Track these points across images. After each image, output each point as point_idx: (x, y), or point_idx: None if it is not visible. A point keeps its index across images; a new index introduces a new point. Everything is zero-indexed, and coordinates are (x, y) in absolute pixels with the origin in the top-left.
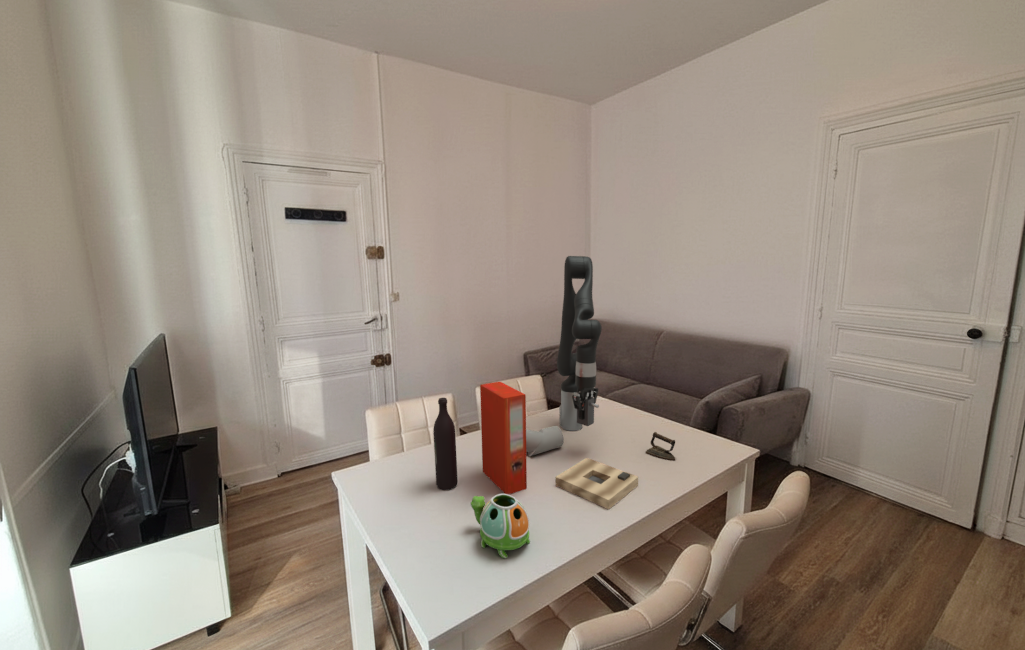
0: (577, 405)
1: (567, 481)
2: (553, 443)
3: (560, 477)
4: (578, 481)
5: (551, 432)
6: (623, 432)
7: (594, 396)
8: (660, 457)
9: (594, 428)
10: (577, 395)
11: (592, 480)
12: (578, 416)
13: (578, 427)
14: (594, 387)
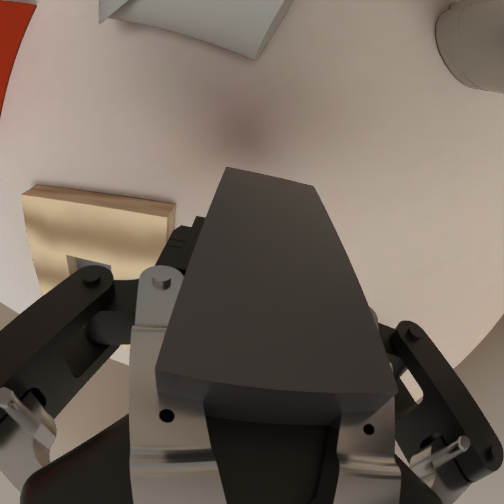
0: (190, 262)
1: (28, 232)
2: (191, 36)
3: (26, 207)
4: (45, 255)
5: (198, 4)
6: (472, 232)
7: (397, 427)
8: None
9: (483, 134)
10: (1, 456)
11: (98, 263)
12: (173, 231)
13: (461, 77)
14: (475, 480)
